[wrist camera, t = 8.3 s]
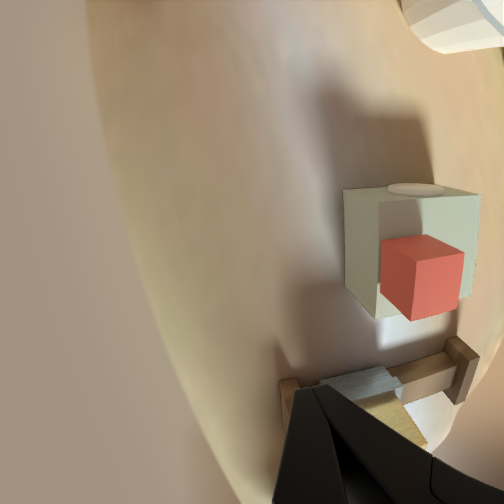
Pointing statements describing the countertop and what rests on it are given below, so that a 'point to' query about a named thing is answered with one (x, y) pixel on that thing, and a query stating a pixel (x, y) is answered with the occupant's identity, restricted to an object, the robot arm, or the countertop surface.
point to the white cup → (456, 23)
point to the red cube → (421, 275)
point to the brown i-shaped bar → (418, 377)
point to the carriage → (379, 399)
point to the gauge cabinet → (404, 232)
